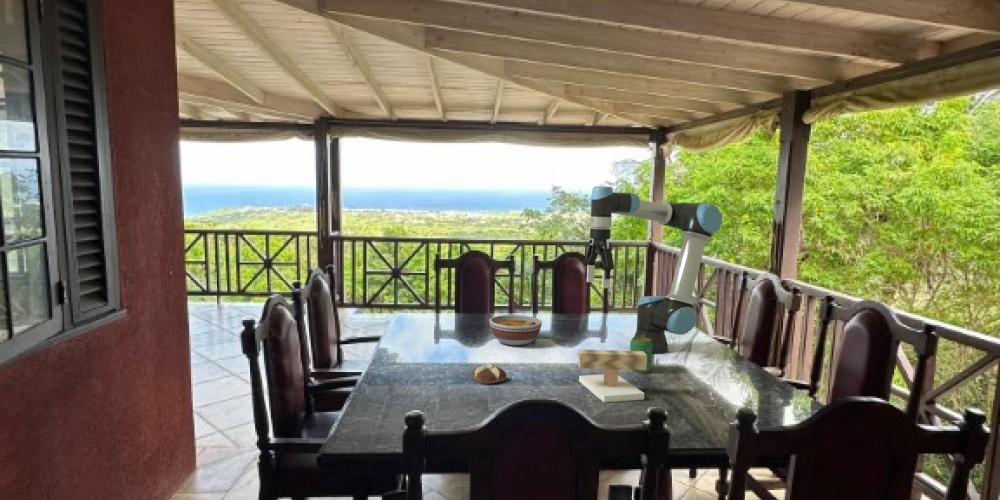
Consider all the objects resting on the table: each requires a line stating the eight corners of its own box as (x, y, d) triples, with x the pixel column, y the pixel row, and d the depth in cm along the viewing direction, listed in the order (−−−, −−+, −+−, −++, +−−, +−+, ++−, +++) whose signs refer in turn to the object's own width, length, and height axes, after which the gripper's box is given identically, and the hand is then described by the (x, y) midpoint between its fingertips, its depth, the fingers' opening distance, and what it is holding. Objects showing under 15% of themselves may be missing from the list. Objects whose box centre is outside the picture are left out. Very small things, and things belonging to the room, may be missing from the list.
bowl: (550, 341, 244) (550, 319, 243) (524, 353, 225) (525, 329, 224) (506, 333, 256) (507, 312, 255) (478, 343, 237) (479, 321, 236)
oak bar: (579, 368, 180) (580, 353, 180) (577, 363, 185) (578, 349, 185) (646, 370, 180) (647, 355, 180) (642, 365, 185) (643, 351, 185)
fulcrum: (615, 379, 195) (616, 357, 194) (644, 399, 176) (645, 375, 175) (579, 381, 191) (580, 359, 191) (604, 402, 172) (605, 377, 171)
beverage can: (636, 365, 212) (637, 335, 211) (654, 370, 206) (656, 339, 205) (624, 369, 206) (626, 338, 205) (643, 375, 201) (645, 343, 200)
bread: (468, 376, 194) (468, 362, 193) (498, 373, 198) (498, 360, 198) (479, 387, 184) (479, 372, 183) (510, 383, 188) (510, 369, 187)
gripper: (577, 226, 214) (575, 279, 216) (606, 230, 190) (603, 290, 192) (595, 226, 216) (593, 279, 218) (625, 230, 192) (622, 290, 194)
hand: (597, 284), depth 205 cm, fingers open, 13 cm apart
